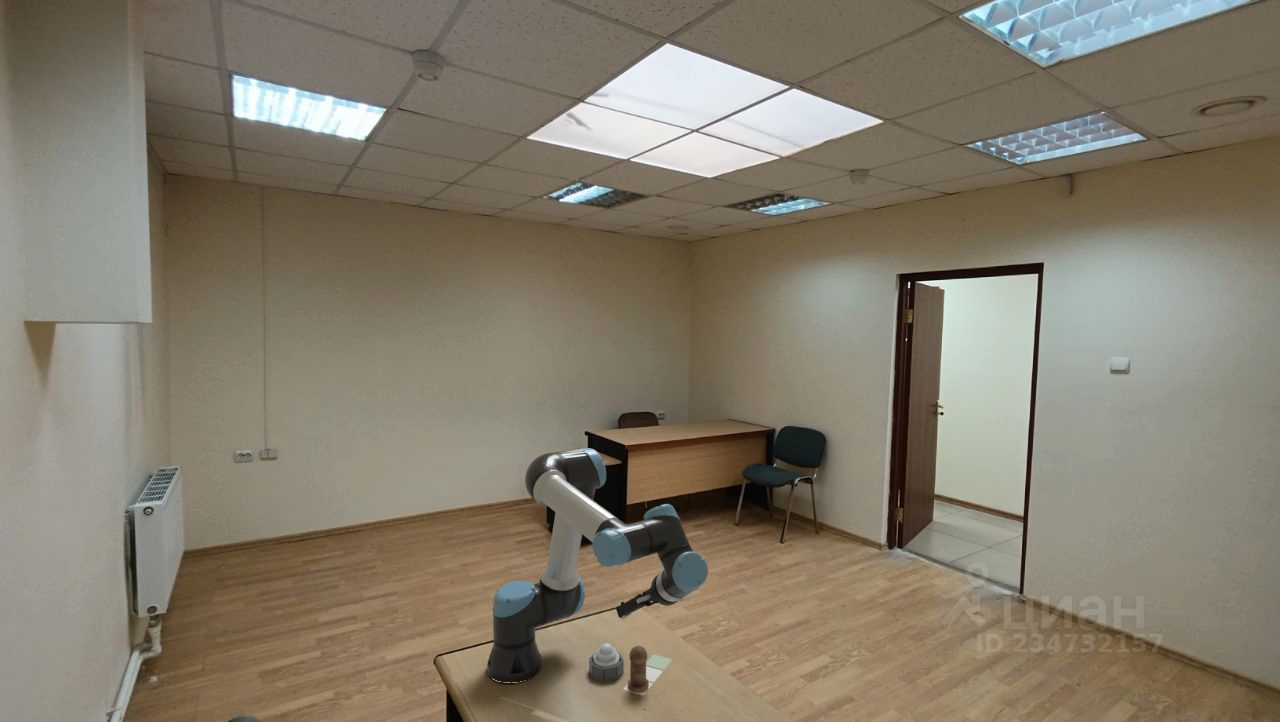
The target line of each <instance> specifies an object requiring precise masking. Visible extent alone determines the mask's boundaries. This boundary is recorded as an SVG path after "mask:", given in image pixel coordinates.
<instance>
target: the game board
mask: <svg viewBox="0 0 1280 722" xmlns="http://www.w3.org/2000/svg"><path fill="white" fill-rule="evenodd" d="M672 661H673V659H671V658H668V657H665V656H661V655H657V654H652V656H651V657H649V659H647V660H646V679H647V680H648V682H649V687H648V689H647V690H646V691H644V692H641V693H636V692H632V691H630V690H629V689H628V683H626V685H625V686H624V688H622V690H623V691H624V690H625V691H627V692H630V693H633V694H635V695H640V696H644V695H645V694H646V693H647V692H648V690H650V688H651V687H652V686H653V685H654V683H656V681H657V680H658V678H659V677H660V675H662V673H663V672H664V671H665V669H666V668H667V667H668V666H669V665H670V663H671V662H672Z"/></svg>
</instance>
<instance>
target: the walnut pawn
mask: <svg viewBox="0 0 1280 722" xmlns="http://www.w3.org/2000/svg"><path fill="white" fill-rule="evenodd" d="M629 661H630V669H629V670H630V678H629V679H628V681H627V684H628V689H629V690H630V691H632V692H631V693H633V692H636V693H641V692H644V691H646V690H647V689H648V687H649V682H650V681H648V680H647V679H646V666H647V665H646V663H647V661H648V652H647V650H646V648H644V647H643V646H642V645H636V646H634V647H632V648H631V649H630V652H629ZM648 690H649V689H648ZM630 691H629V692H630ZM636 693H635V694H636Z"/></svg>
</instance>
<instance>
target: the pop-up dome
mask: <svg viewBox="0 0 1280 722" xmlns="http://www.w3.org/2000/svg"><path fill="white" fill-rule="evenodd" d="M618 653H619V652H618ZM618 653H617V648H615V647H614V646H613V645H611V644H610V643H607V642H605V643H602V644H601V646H600V647H598V648H597V649H596V652H594V653H593V654H594V665H596V666H600V667H603V668H607V667H612V666H616V665H617V664H618V663H619V654H618Z"/></svg>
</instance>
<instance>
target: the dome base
mask: <svg viewBox="0 0 1280 722" xmlns="http://www.w3.org/2000/svg"><path fill="white" fill-rule="evenodd" d="M616 652H617V651H616ZM617 653H618V654H619V663H618V664H617V665H616V666H612V667H607V668H603V667H600V666H596V665H594V654H595V653H593V654H592V655H591V656H590V657H589V659H588V660H589V661H588V662H589V663H588V664H589V666H588V667H589V668H588V669H589V670H588V671H589V674H590V676H591V678H592V679H594V680H596V681H599V682H603V683H604V682H605V683H606V682H612V681H617V680H619V678H621V676H622V675H623V674H624V671H625V670H624V669H625V668H624V664H625V662H624V661H625V659H624V658H623V655H622V654H621V652H617Z"/></svg>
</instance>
